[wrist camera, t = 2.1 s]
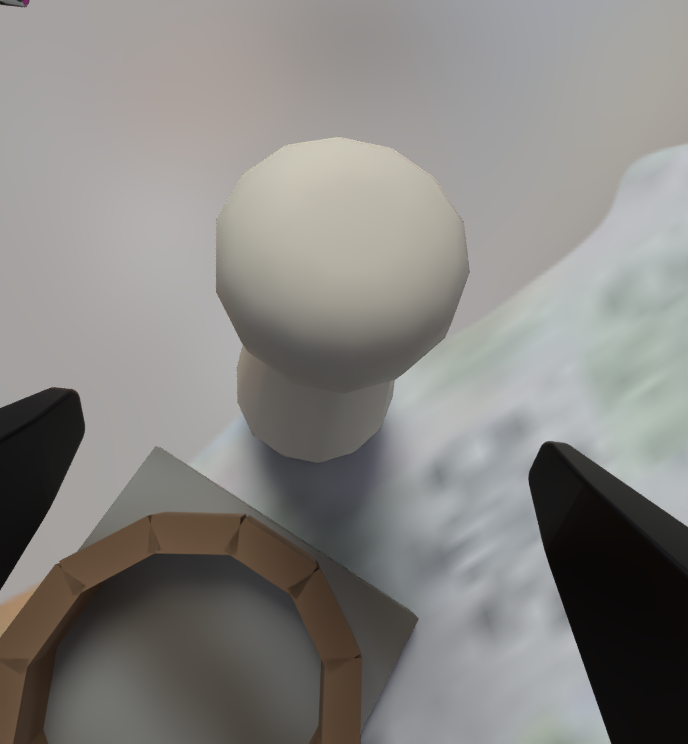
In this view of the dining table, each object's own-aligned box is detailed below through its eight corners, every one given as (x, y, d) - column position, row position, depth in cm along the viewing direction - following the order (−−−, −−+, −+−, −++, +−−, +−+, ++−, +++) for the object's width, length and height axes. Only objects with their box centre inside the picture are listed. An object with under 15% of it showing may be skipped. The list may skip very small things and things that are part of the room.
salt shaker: (261, 481, 18) (185, 474, 6) (229, 348, 19) (108, 97, 7) (398, 442, 19) (593, 361, 7) (359, 317, 20) (463, 48, 8)
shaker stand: (233, 961, 15) (221, 1061, 12) (-63, 751, 15) (-135, 805, 13) (413, 613, 18) (432, 634, 15) (161, 448, 18) (140, 442, 16)
